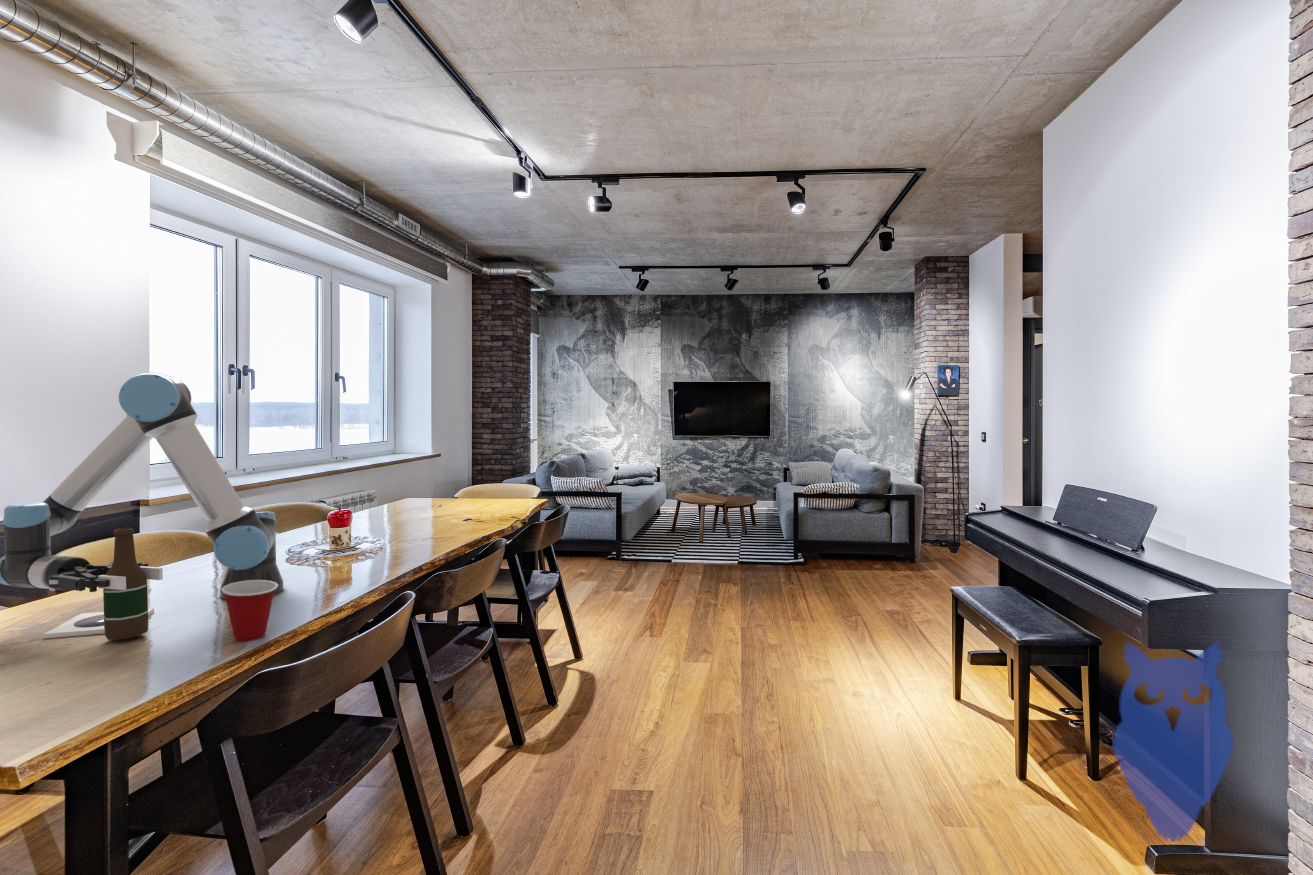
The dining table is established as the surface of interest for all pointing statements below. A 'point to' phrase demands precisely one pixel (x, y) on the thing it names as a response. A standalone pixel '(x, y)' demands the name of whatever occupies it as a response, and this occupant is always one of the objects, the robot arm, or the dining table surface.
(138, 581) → the beer bottle
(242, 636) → the plastic cup
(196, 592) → the dining table surface
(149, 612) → the tile
